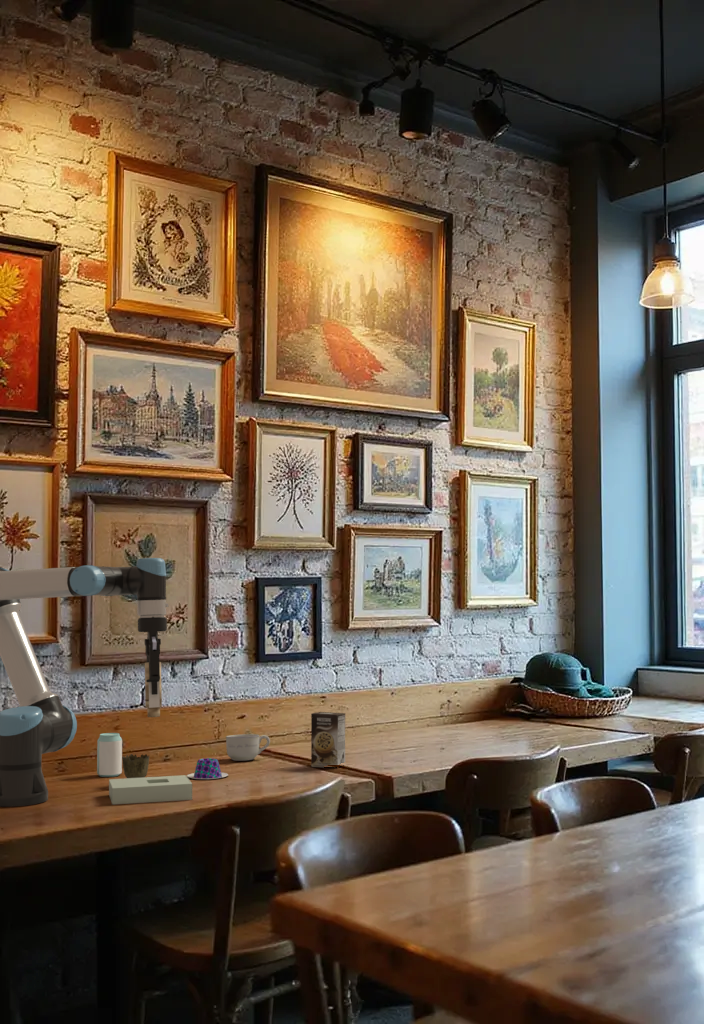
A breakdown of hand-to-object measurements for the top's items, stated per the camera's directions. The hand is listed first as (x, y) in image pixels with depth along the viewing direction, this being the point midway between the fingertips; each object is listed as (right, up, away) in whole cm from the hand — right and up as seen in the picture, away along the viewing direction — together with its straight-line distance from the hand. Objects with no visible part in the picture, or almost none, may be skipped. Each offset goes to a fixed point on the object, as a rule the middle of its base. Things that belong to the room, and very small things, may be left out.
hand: (153, 706), depth 277 cm
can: (-19, -27, +33) cm, 47 cm away
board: (-1, -23, -2) cm, 23 cm away
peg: (0, -3, 0) cm, 3 cm away
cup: (-8, -25, +17) cm, 31 cm away
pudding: (+10, -26, +29) cm, 41 cm away
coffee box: (+45, -27, +47) cm, 70 cm away
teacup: (+19, -28, +61) cm, 70 cm away
